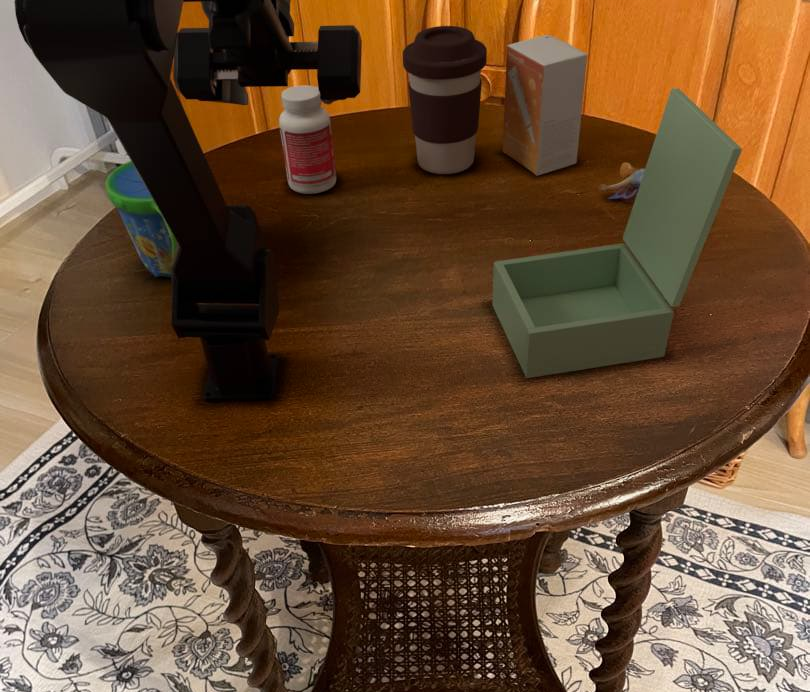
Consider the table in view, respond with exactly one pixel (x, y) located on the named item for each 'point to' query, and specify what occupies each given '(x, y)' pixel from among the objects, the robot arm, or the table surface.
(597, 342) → the chest
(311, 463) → the table surface
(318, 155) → the pill bottle
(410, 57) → the coffee cup
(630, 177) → the fairy figurine
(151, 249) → the snack cup
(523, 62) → the small box
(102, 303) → the table surface
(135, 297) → the table surface
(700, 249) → the chest lid
